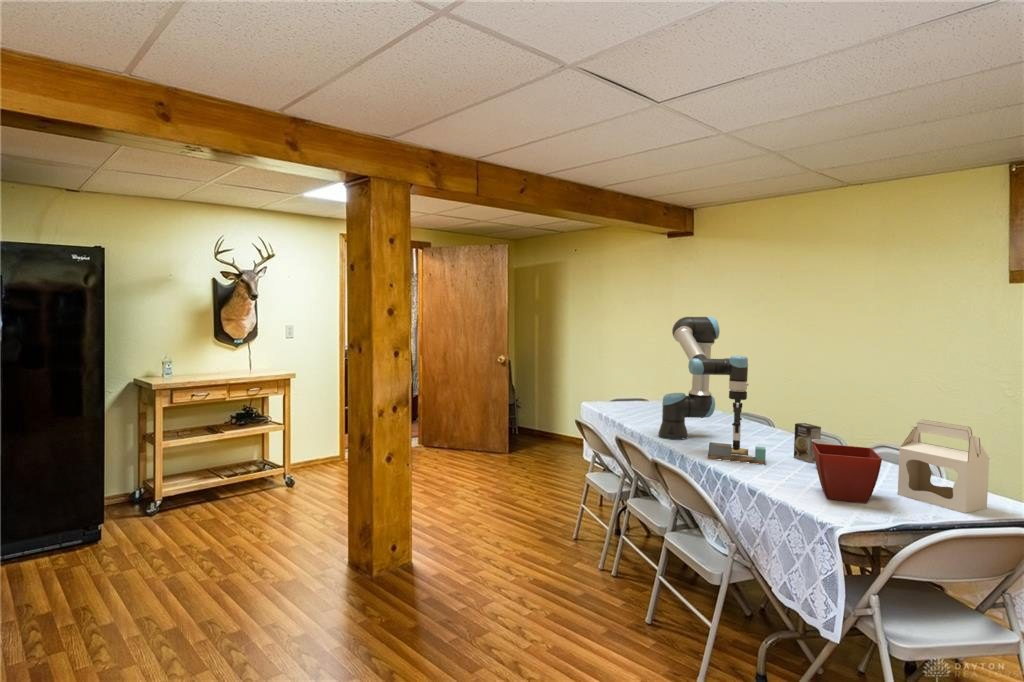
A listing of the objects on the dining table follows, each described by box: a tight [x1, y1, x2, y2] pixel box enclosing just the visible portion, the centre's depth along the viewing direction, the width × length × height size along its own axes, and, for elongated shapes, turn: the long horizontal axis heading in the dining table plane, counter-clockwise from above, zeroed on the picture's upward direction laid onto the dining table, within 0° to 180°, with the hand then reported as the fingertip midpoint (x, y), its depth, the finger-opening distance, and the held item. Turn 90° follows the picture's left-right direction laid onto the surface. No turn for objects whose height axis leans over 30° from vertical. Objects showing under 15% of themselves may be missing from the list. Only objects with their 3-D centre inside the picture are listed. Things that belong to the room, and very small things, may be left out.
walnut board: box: [706, 451, 766, 465], centre depth 254 cm, size 24×7×2 cm, turn 68°
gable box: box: [897, 419, 990, 514], centre depth 199 cm, size 22×13×28 cm, turn 25°
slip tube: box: [731, 421, 749, 456], centre depth 254 cm, size 14×3×14 cm, turn 68°
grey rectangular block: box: [708, 441, 733, 457], centre depth 256 cm, size 10×5×5 cm, turn 68°
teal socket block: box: [754, 445, 767, 462], centre depth 250 cm, size 4×5×5 cm
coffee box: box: [793, 422, 822, 463], centre depth 255 cm, size 9×6×16 cm
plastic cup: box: [812, 439, 841, 448], centre depth 240 cm, size 11×11×12 cm
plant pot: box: [813, 444, 883, 504], centre depth 203 cm, size 19×19×17 cm
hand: (736, 437), depth 253 cm, fingers open, 13 cm apart
